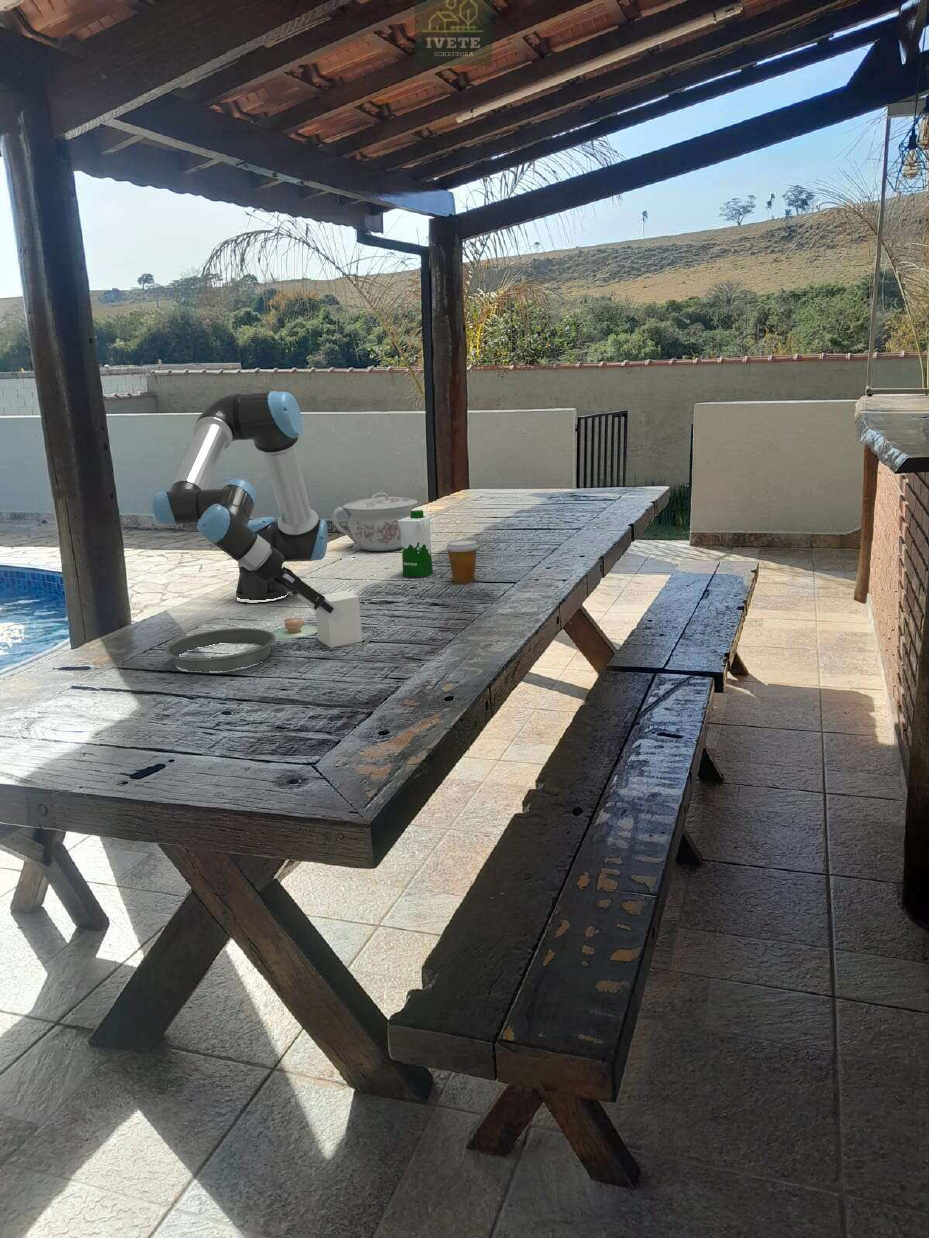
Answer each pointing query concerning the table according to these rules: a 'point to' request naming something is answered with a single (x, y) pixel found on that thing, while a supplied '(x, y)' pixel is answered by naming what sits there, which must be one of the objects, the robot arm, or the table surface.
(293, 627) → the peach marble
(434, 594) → the table surface
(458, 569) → the disposable coffee cup
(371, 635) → the mat
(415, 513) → the milk carton
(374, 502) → the chamber pot
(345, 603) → the white upright block
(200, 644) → the hoop
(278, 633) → the plate
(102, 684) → the table surface
